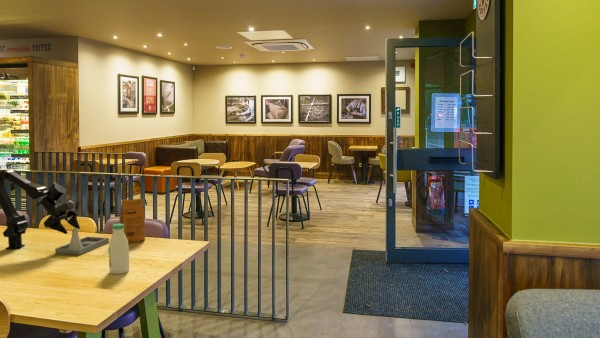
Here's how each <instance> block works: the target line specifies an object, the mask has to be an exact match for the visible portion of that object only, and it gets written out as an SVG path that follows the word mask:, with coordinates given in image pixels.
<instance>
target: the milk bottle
mask: <svg viewBox="0 0 600 338" xmlns="http://www.w3.org/2000/svg"><path fill="white" fill-rule="evenodd" d="M111 229H112V230H111V231H112V235H111V238H109V243H108V259H109V260H108V262H109V263H108V264H109V273H110V274H114V275H120V274H121V275H122V274H125V273H128V272H129V271H130V247H129V243H128V240H127V238H126V236H125V234H124V224H119V223H113V224H112V226H111Z"/></svg>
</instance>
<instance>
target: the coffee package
mask: <svg viewBox="0 0 600 338" xmlns="http://www.w3.org/2000/svg"><path fill="white" fill-rule="evenodd" d="M118 224H124V234H125V236H126V238H127V240H128V244H129V243H138V242H143V241H145V240H146V227H145V225H146V224H145V210H144V200H143V198H142V197H141V198H136V199H121V206H120V212H119V223H118Z"/></svg>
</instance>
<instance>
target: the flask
mask: <svg viewBox="0 0 600 338" xmlns="http://www.w3.org/2000/svg"><path fill="white" fill-rule="evenodd" d="M79 230H80V229H78V228H75V227H74V228H72V229H71V239H70V241H69V243H70V244H69V243H68V244H69V247H68V249H77V250H79V249H81V248H83V245H82V243H81V241H80V239H81V238H80V235H79Z"/></svg>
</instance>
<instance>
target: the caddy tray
mask: <svg viewBox="0 0 600 338" xmlns="http://www.w3.org/2000/svg"><path fill="white" fill-rule="evenodd" d="M80 241H81V243H82V245H83V248H81V249H79V250H77V249H68V247H69V244H70V242H68V243H67V244H64V245H61V246H59V247H56V248H54V253H55V255H63V256H64V255H66V256H82V255H83V254H87V253H88V252H90V251H94V250H95V249H97V248H100V247H102V246H105V245H107V244H109V242H110V238H109V237H100V236H85V237H83V238H80Z"/></svg>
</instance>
